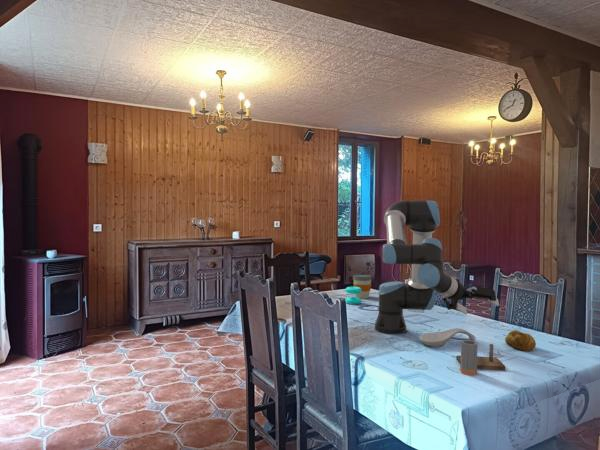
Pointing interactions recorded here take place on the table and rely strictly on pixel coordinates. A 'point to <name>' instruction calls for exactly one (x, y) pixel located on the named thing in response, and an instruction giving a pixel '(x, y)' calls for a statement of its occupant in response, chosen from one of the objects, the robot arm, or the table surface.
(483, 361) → the pin board
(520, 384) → the table surface
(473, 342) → the sleeve
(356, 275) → the reusable coffee cup
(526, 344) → the bread roll
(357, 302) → the donuts
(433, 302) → the robot arm
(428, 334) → the spoon rest
